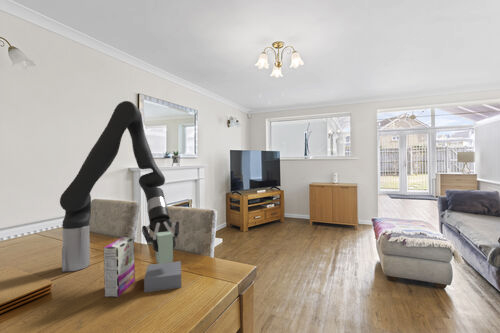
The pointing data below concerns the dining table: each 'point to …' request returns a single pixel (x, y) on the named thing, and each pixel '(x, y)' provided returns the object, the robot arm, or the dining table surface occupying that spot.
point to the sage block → (164, 247)
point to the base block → (162, 276)
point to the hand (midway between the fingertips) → (165, 249)
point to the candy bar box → (119, 266)
